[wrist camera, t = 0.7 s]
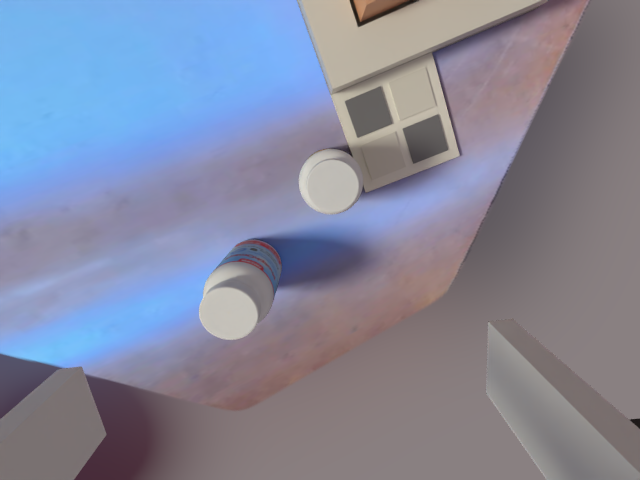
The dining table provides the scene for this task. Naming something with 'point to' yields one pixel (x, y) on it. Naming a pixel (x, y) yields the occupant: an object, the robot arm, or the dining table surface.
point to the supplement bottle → (331, 181)
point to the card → (397, 123)
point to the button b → (374, 7)
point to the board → (395, 33)
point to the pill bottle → (240, 290)
